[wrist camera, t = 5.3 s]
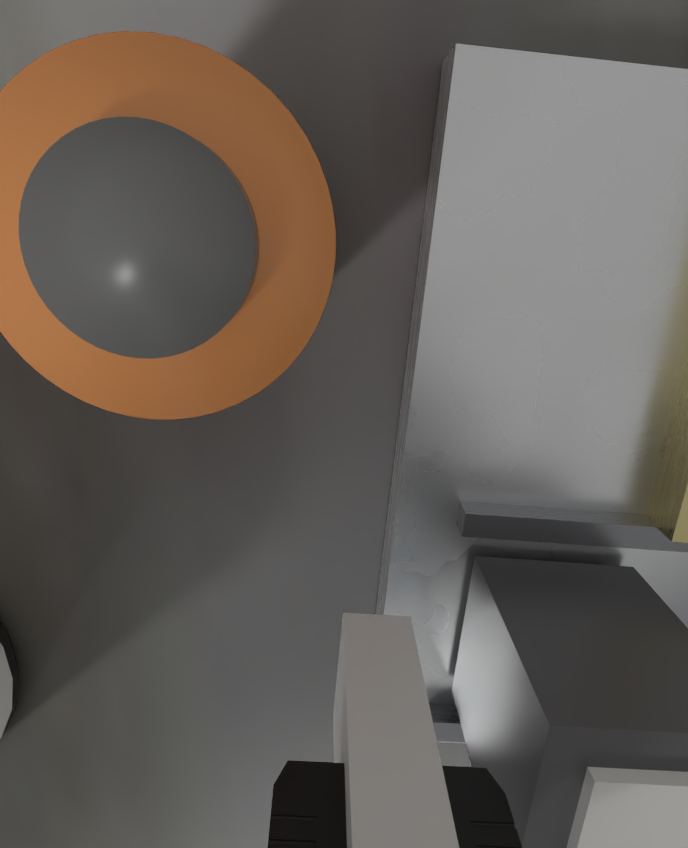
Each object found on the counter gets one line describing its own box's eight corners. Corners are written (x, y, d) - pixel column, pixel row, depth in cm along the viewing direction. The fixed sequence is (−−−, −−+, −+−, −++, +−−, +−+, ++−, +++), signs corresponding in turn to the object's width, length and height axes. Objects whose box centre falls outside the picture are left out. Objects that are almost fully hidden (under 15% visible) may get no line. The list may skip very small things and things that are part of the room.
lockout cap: (126, 325, 15) (-48, 418, 8) (124, 109, 14) (-92, -10, 7) (323, 342, 16) (320, 446, 8) (340, 131, 14) (354, 41, 7)
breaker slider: (451, 690, 17) (513, 921, 11) (474, 555, 16) (556, 740, 10) (599, 698, 17) (730, 928, 11) (633, 566, 16) (798, 752, 10)
